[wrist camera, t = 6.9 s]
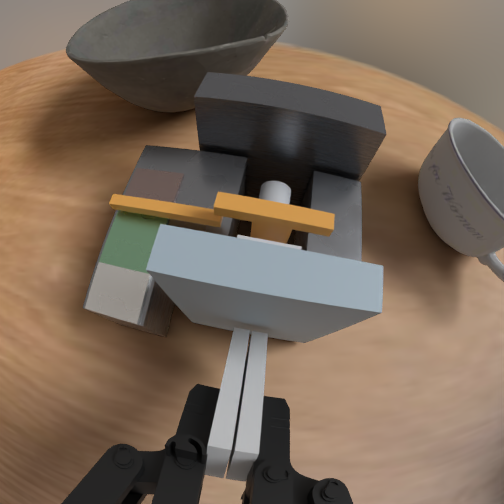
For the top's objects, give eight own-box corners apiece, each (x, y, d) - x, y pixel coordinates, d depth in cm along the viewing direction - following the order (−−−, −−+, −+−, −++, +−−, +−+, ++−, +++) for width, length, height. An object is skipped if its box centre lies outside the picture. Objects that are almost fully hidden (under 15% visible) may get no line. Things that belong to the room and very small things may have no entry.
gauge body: (337, 190, 22) (380, 106, 14) (322, 365, 17) (395, 359, 9) (172, 161, 22) (151, 70, 14) (117, 323, 17) (38, 285, 9)
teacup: (392, 159, 24) (430, 99, 17) (469, 179, 25) (509, 135, 17) (422, 307, 19) (495, 273, 12) (501, 302, 19) (561, 274, 12)
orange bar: (320, 236, 15) (334, 213, 12) (319, 250, 14) (333, 229, 12) (118, 200, 15) (104, 176, 13) (113, 213, 14) (98, 189, 12)
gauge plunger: (318, 227, 20) (372, 125, 11) (305, 342, 17) (381, 312, 8) (220, 209, 20) (213, 93, 11) (192, 322, 17) (145, 269, 8)
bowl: (227, 189, 22) (226, 78, 12) (65, 136, 23) (28, 63, 14) (299, 73, 28) (314, -1, 19) (163, 46, 30) (156, -16, 21)
